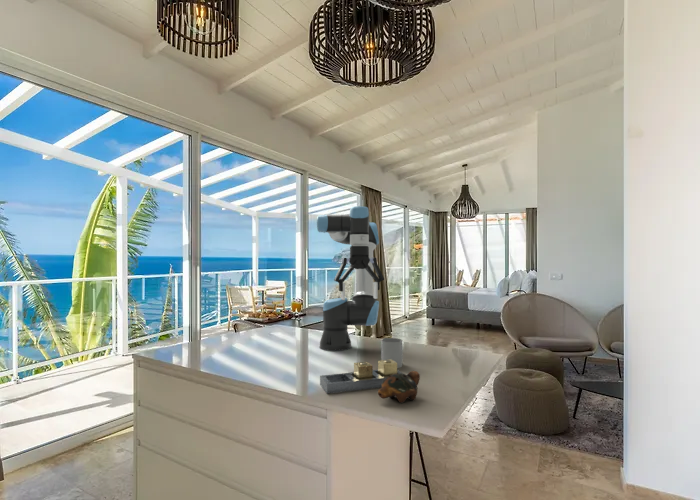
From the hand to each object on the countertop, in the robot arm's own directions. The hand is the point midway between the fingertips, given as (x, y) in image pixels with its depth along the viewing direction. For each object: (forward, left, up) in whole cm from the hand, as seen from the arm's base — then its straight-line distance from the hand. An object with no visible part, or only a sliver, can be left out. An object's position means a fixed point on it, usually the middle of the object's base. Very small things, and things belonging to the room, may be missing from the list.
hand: (359, 299), depth 157 cm
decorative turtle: (+37, 0, -27) cm, 46 cm away
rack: (+20, -6, -27) cm, 34 cm away
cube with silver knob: (+21, -6, -27) cm, 34 cm away
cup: (+2, +13, -27) cm, 30 cm away
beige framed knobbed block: (+20, +3, -27) cm, 34 cm away
